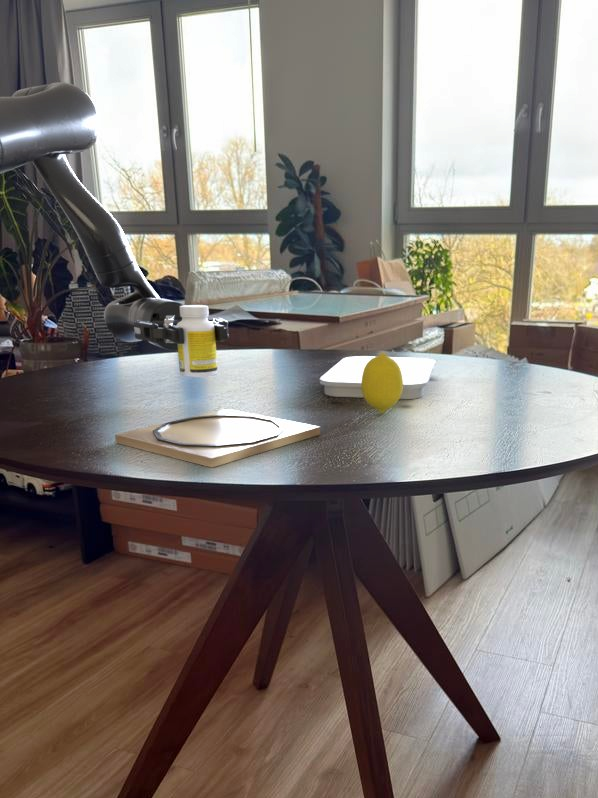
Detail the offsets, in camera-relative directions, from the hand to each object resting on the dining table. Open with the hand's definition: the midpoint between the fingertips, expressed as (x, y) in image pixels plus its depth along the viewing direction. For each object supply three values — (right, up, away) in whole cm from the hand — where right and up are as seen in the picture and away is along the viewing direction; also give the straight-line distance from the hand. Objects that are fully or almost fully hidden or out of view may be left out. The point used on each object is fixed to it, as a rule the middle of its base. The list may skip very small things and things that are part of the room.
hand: (202, 335), depth 102 cm
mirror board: (+7, -17, -18) cm, 25 cm away
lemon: (+25, -12, -4) cm, 28 cm away
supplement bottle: (-1, -5, +4) cm, 7 cm away
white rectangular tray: (+25, -4, +16) cm, 30 cm away
